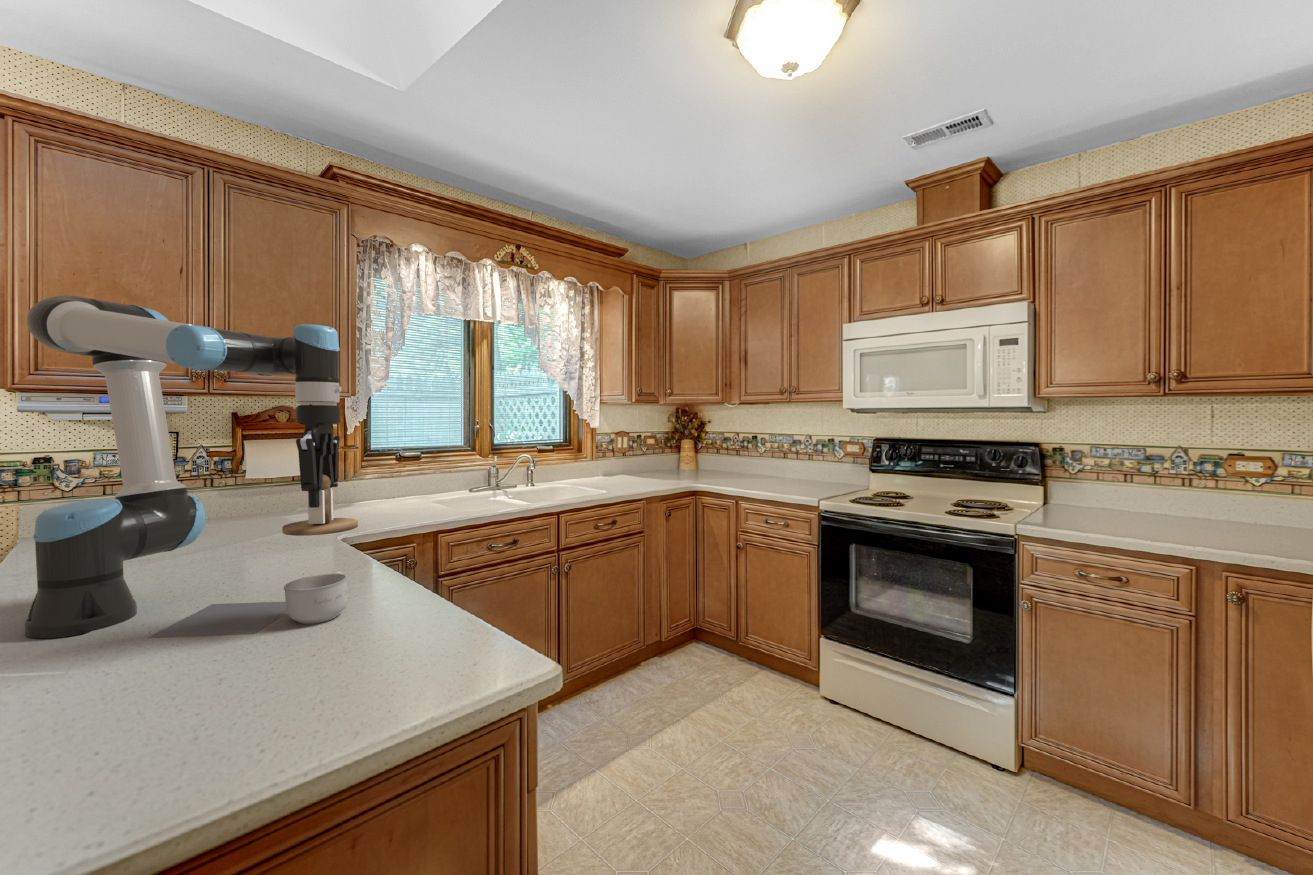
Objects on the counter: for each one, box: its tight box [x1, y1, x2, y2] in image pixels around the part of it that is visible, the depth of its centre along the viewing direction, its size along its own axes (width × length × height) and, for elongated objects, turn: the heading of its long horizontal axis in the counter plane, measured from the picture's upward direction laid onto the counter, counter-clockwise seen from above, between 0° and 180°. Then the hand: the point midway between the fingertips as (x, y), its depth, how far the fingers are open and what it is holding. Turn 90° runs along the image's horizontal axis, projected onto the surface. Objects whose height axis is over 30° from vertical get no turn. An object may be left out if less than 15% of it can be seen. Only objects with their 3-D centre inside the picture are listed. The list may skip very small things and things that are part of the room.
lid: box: [281, 474, 359, 537], centre depth 112 cm, size 13×13×11 cm
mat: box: [146, 601, 288, 639], centre depth 111 cm, size 18×18×1 cm
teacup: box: [283, 570, 349, 625], centre depth 113 cm, size 14×11×8 cm
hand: (321, 521), depth 112 cm, fingers closed on lid, 3 cm apart
